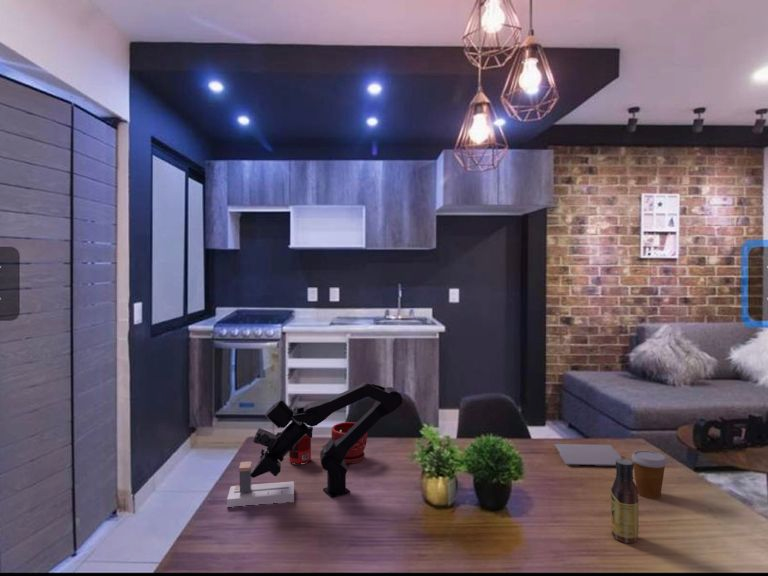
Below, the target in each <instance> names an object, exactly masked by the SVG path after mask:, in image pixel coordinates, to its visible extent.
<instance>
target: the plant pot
mask: <svg viewBox="0 0 768 576" xmlns="http://www.w3.org/2000/svg"><path fill="white" fill-rule="evenodd" d="M356 423H357V422H353V421H352V422H350V421H345V422H339V423H336V424H334V425H332V427H331V438H333V440H334V441H336V440H338V439H340V438H341V437H342V436H343V435H344V434H345V433H346V432H347V431H348V430H349V429H350V428H351V427H352V426H354V425H355V424H356ZM367 442H368V432H367V433H366V434H365V435H364V436H363V437H362V438H361V439H360V440H359V441H358V442H357V443H356V444H355V445H354V446H352V447H351V448H350V450H349V451H348V453H347V455H346V457H345V458H344V461H345V464H354V463H355V464H356V463H358V462H360V461H362V460H363V459H364V458H365V454H366V453H365V452H364V451H365V449H366V445H367Z"/></svg>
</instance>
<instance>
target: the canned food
mask: <svg viewBox="0 0 768 576" xmlns="http://www.w3.org/2000/svg"><path fill="white" fill-rule="evenodd" d="M311 443H312V438H310V437H309V436H308V435H307V434H305V436H304V437H303V438H302V439H301V440H300V441H299V442H298V443H297V444H296V445H295V446H294V449H293V450H292V451H289V452H288V453H289V454H288V457H289V458H288V459H289V463H290V462H291V463H295V464H301V463H306V462H308V461H310V462H311V459H312V444H311ZM291 463H290V464H291Z"/></svg>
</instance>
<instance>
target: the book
mask: <svg viewBox="0 0 768 576" xmlns="http://www.w3.org/2000/svg"><path fill="white" fill-rule="evenodd" d="M553 445H554V447H556V449H557V451H558V452H559V456H560V457H561V459H562V460H563V463H564V464H565V465H567V464H568V465H567V466H579V465H595V466H596V467H616V460H617V459H623V458H622V456H621V455H620V454H619V453H618V451H617V450H616V449H615V448H614V447H613V446H612V445H611V444H577V443H575V444H572V443H571V444H570V443H554V444H553ZM595 466H594V467H595Z"/></svg>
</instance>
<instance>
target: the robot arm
mask: <svg viewBox="0 0 768 576" xmlns="http://www.w3.org/2000/svg"><path fill="white" fill-rule="evenodd" d="M366 398H369V399H372V400H374V401H375V402H374V403H373V405H372V407H371V408H370V409H369V410H368V411H366V412H365V414H364V415H362V416H361V418H360V419H359V420H357V421H356V422H355V423H356V424H355V425H354V426H352V427H351V428H350V429H349V430H348V431H347V432H346V433H345V434H344V435H343V436H342V437H341V438H340V439H338V440H336V441H334V440H333V438H332V437H331V438H330V439H329V440H328V442H327V443H326V444H325V445H322V449H321V451H320V455H319V458H320V464H321V465H320V466H321V467H322V469H323V470H324V471H326V472H327V473H326V477H327V480H326V481H327V484H326V487H324V488H322V491H323V492H325V493H326V494H327V495H328V496H329V497H330V498H335V497H340V496H343V495H347V494H351V491H350V489H348V488H347V481H346V480H347V479H346V476H347V473H348V469H347V463H345V461H344V458H345V457H346V455H347V453H348V451H349V450H350V448H351V447H352V446H354V445H355V444H356V443H357V442H358V441H359V440H360V439H361V438H362V437H363V436H364V435H365V434H366V433H367V434H368V432H369V431H370V430H371V429H372V428H373V427H374V426H375V425H376V424H378V422H379V421H380V420H382V419H383V418H384V417H387V416H388V415H390V414H393V412H395V411H397V410H399V408H401V406H402V404H403V396H402V394H401V393H400V392H399V391H398V390H397V389H396V388H395V387H393V386H388V387H384V386H382V385H378V384H374V383H371V382H369V381H363V382H362V383H360V384H358V385H356V386H354V387H351V388H350V389H348V390H345V391H342V392H340V393H339V394H336V395H334V396H331V397H330V398H328V399H322V400H317V401H313V402H308V403H307V404H305V406H302V407H296V408H293V409H292V408H291V407H290V406H289V405H288V404H287V403H286V402H285V400H284V399H282V398H281V399H280V400H279V401H277V402H276V403H275V404H272V406H271V407H270V408H269V409H268V410H267V411H266V413H265V414H264V417H266V418H267V419H268V421H270V422H271V423H272V424H274V426H275V427H276V428H278V429H280V428H281V429H283V430H282V431H278V432H276V434H274V433H273V432H270V431H268V430H265V429H263V428H257V430H256V433H255V435H254V437H253V440H252V441H253V443H255V444H257V445H261V446H264V447H266V448H265V449H263V448H262V449H261V451H260V456H259V460H258V462H257V463H256V465H255V467H254V469H253V470H252V471H251V479H254V478H257V477H259V476H261V475H264V474H267V473H270V474H271V475H273V476H274V477H277V476H278V474H280V473H281V469H282V466H281V465H282V464H281V463H282V462H283V461H284V458H285V456H286V455H287V454H288V453H289V451H292V450H293V449H294V446H295V445H296V444H297V443H298V442H299V441H300V440H301V439H302V438H303V437H304V436H305V434H307V435H308V436H309V437H310V438H311V439H312V438H313V430H314V427H315V426H316V427H317V426H318V425H320V424H321V423H322V422H323V421H325V420H326V419H328V417H329V416H331V415H332V414H334V413H335V412H337V411H339V410H342V409H344V408H346V407H348V406H351V405H352V404H354V403H356V402H358V401H361V400H363V399H366Z"/></svg>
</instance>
